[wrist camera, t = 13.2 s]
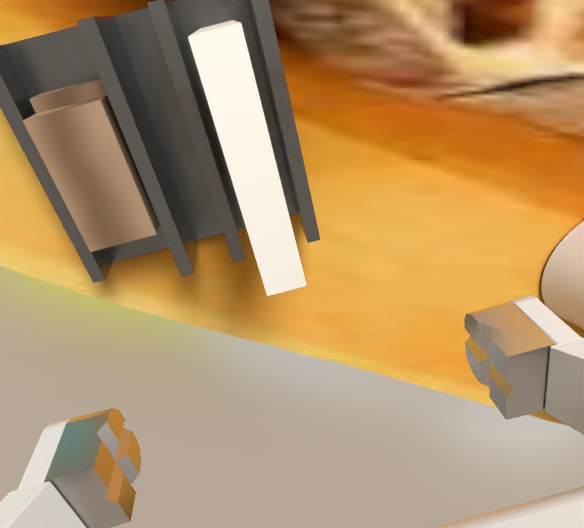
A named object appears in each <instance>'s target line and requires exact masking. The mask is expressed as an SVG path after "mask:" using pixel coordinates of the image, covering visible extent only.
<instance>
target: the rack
mask: <svg viewBox="0 0 584 528" xmlns="http://www.w3.org/2000/svg"><path fill="white" fill-rule="evenodd" d="M147 5H148V8H145V9H141V10H137V11H133V12H130V13H126V14H122V15H118V16H110V17H90V18H86V19H83V20H79V21H77V23H78V25H79V26H75V27H72V28H68V29H64V30H60V31H56V32H52V33H48V34H45V35H41V36H37V37H33V38H29V39H25V40H21V41H17V42H14V43H10V44H6V45H0V107H1V109H2V111H3V113H4V115H5V117H6V119H7V120H8V122H9V124H10V126H11V128H12V130H13V132H14V134H15V135H16V137H17V139H18V141H19V143H20V145H21V147H22V149H23V151H24V152H25V154H26V156H27V158H28V160H29V162H30V164H31V166H32V168H33V169H34V171H35V173H36V175H37V177H38V179H39V181H40V183H41V185H42V186H43V188H44V190H45V192H46V194H47V196H48V198H49V200H50V202H51V203H52V205H53V207H54V209H55V211H56V213H57V215H58V217H59V218H60V220H61V222H62V224H63V226H64V228H65V230H66V232H67V234H68V235H69V237H70V239H71V241H72V243H73V245H74V247H75V249H76V251H77V252H78V254H79V256H80V258H81V260H82V262H83V264H84V266H85V268H86V269H87V271H88V273H89V275H90V277H91V279H92V281H93V283H94V282H98V281H102V280H105V279H106V277H107V274H108V272H109V270H110V267H111V265H112V263H113V262H117V261H120V260H124V259H128V258H132V257H135V256H139V255H143V254H147V253H151V252H154V251H158V250H162V249H166V248H169V247H170V250H171V252H172V255H173V257H174V259H175V262H176V264H177V267H178V269H179V272H180V274H181V276H185V275H189V274H193V273H194V268H195V258H196V247H197V240H199V239H203V238H207V237H211V236H214V235H218V234H222V233H224V235H225V238H226V241H227V244H228V247H229V250H230V253H231V256H232V259H233V262H238V261H242V260H245V259H246V254H245V245H244V236H243V228H245V227H246V225H245V222H244V219H243V216H242V212H241V209H240V206H239V203H238V199H237V196H236V193H235V190H234V186H233V183H232V180H231V176H230V173H229V170H228V167H227V163H226V160H225V157H224V154H223V150H222V147H221V144H220V141H219V137H218V134H217V131H216V127H215V124H214V121H213V118H212V114H211V111H210V108H209V105H208V101H207V98H206V95H205V92H204V88H203V85H202V82H201V79H200V75H199V72H198V69H197V65H196V62H195V59H194V56H193V52H192V49H191V46H190V43H189V39H188V36H190V35H191V34H193V33H194V32H196V31H197V30H199V29H200V28H203V27H207V26H211V25H215V24H219V23H222V22H226V21H230V20H235V21H237V22H240V23H241V24H242V28H243V32H244V36H245V40H246V44H247V48H248V52H249V56H250V60H251V64H252V68H253V72H254V76H255V80H256V84H257V88H258V92H259V96H260V100H261V104H262V108H263V112H264V117H265V121H266V125H267V129H268V133H269V137H270V141H271V145H272V149H273V153H274V157H275V161H276V165H277V169H278V173H279V177H280V181H281V185H282V189H283V193H284V197H285V201H286V205H287V209H288V213H289V216H290V215H293V214H297V216H298V219H299V221H300V224H301V226H302V229H303V231H304V234H305V237H306V239H307V242H308V243H309V242H313V241H316V240H320V236H319V231H318V227H317V222H316V217H315V213H314V208H313V204H312V199H311V194H310V190H309V185H308V180H307V176H306V171H305V167H304V162H303V157H302V153H301V148H300V143H299V139H298V134H297V129H296V125H295V120H294V116H293V111H292V106H291V102H290V97H289V92H288V88H287V83H286V79H285V74H284V69H283V65H282V60H281V55H280V51H279V46H278V42H277V37H276V32H275V28H274V23H273V18H272V14H271V9H270V5H269V0H176V1H170V0H156V1H152V2H148V3H147ZM98 78H100V79H101V81H102V84H103V86H104V89H105V91H106V93H107V96H108V98H109V101H110V103H111V106H112V108H113V110H114V113H115V115H116V118H117V120H118V123H119V125H120V128H121V130H122V132H123V135H124V137H125V140H126V142H127V145H128V147H129V150H130V152H131V154H132V157H133V159H134V162H135V164H136V167H137V169H138V172H139V174H140V176H141V179H142V181H143V184H144V186H145V189H146V191H147V193H148V196H149V198H150V201H151V203H152V206H153V208H154V211H155V213H156V215H157V218H158V220H159V223H160V225H159V228H158V232H157V235H153V236H149V237H146V238H142V239H138V240H134V241H130V242H127V243H123V244H119V245H115V246H112V247H108V248H104V249H100V250H97V251H93V252H90V251H89V249H88V247H87V245H86V243H85V241H84V239H83V237H82V235H81V233H80V231H79V229H78V228H77V226H76V224H75V222H74V220H73V218H72V216H71V214H70V212H69V210H68V208H67V206H66V204H65V202H64V200H63V198H62V196H61V194H60V192H59V191H58V189H57V187H56V185H55V183H54V181H53V179H52V177H51V175H50V173H49V171H48V169H47V167H46V165H45V163H44V161H43V159H42V157H41V156H40V154H39V152H38V150H37V148H36V146H35V144H34V142H33V140H32V138H31V136H30V134H29V132H28V130H27V128H26V126H25V124H24V122H23V120H25V119H27V118H29V117H30V116H32V115H34V114H36V112H35V110H34V108H33V106H32V104H31V102H30V100H29V99H30V98H32V97H34V96H36V95H39V94H41V93H45V92H49V91H52V90H56V89H60V88H64V87H68V86H72V85H75V84H79V83H83V82H87V81H91V80H95V79H98Z"/></svg>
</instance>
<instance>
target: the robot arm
mask: <svg viewBox="0 0 584 528" xmlns="http://www.w3.org/2000/svg"><path fill="white" fill-rule="evenodd" d="M541 291H542V297H543V300H544V303H545V305H546V306H547V307H546V306H545V305H544V304H543V303H542V302H540V301H539V300H538V299H537V298H536V297H533V296H527V297H523V298H520V299H516V300H513V301H509V302H508V303H504V304H500V305H496V306H493V307H489V308H486V309H482V310H478V311H475V312H471V313H467V314H466V316H465V329H466V330H467V332H468V333H469V334H470V337H469V338H468V340H467V341H466V343H465V345H466V355H467V358H468V362H469V365H470V367H471V369H472V371H473V373H474V375H475V376H476V378H477V379H478V381H479V382H480V383H482V384H484V385H486V386H489V387H490V398H491V399H492V401H493V402H494V403H495V405H496V406H497V408H498V409H499V410H500V412H501V413H502V414H503V416H504V417H505V419H511V418H515V417H519V416H523V415H527V414H532V413H536V412H540V411H544V410H545V413H547V414H549V415H550V416H552V417H554V418H556V419H557V420H559V421H561V422H563V423H565V424H566V425H568V426H570V427H572V428H573V429H575V430H577V431H579V432H580V433H582V434H584V338H581V337H580V336H579V335H578V334H577V333H576V332H575V331H573V330H572V329H571V328H570V327H569V326H568V325H567V324H566V323H564V322H563V321H562V320H561V319H560V318H562V319H564V320H567V321H569V322H571V323H573V324H575V325H576V326H578V327H580V328H581V329H582V330H584V221H582V222H581V223H580V224H579V225H578V226H576V227H575V228H574V229H573V230H572V231H571V232H570V233H569V234H568V235H567V236H566V237H565V238H564V239H563V240H562V241H561V242H560V243H559V245H558V246H557V247H556V249H555V250H554V252H553V253H552V255H551V257H550V258H549V260H548V262H547V265H546V267H545V270H544V273H543V277H542V283H541ZM559 317H560V318H559ZM124 421H125V419H124V417H123V415H122V414H121V412H120V411H119V410H118V409H109V410H104V411H100V412H96V413H92V414H88V415H84V416H80V417H76V418H72V419H70V420H65V421H61V422H57V423H53V424H49V425H48V426H47V427H46V428H45V429H44V430H43V432H42V435H41V437H40V439H39V442H38V444H37V446H36V448H35V451H34V453H33V455H32V458H31V460H30V462H29V465H28V467H27V469H26V471H25V474H24V476H23V478H22V481H21V483H20V485H19V488H18V490H15V491H12V492H10V493H9V494H8V495H7V496H6V497H5V498H4V499H3V500H2V501H1V502H0V528H109V527H113V526H116V525H120V524H123V523H126V522H130V521H131V516H132V511H133V505H134V499H135V494H136V492H135V490H134V489H133V487H132V486H131V484H132V483H133V481H134V480H135V479H136V477H137V476H138V475H139V472H140V465H141V457H140V448H139V444H138V441H137V439H136V437H135V436H134V434H133V432H131V431H129V430H127V429H125V428H123V425H124ZM435 528H584V487H581V488H578V489H574V490H570V491H567V492H563V493H560V494H556V495H552V496H549V497H545V498H541V499H538V500H534V501H530V502H526V503H523V504H519V505H515V506H512V507H508V508H505V509H501V510H497V511H493V512H490V513H486V514H482V515H479V516H475V517H472V518H468V519H464V520H461V521H457V522H453V523H450V524H446V525H442V526H439V527H435Z"/></svg>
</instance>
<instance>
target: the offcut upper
mask: <svg viewBox="0 0 584 528" xmlns="http://www.w3.org/2000/svg"><path fill="white" fill-rule="evenodd" d="M23 122H24V124H25V126H26V128H27V130H28V132H29V134H30V136H31V138H32V140H33V142H34V144H35V146H36V148H37V150H38V152H39V154H40V156H41V157H42V159H43V161H44V163H45V165H46V167H47V169H48V171H49V173H50V175H51V177H52V179H53V181H54V183H55V185H56V187H57V189H58V191H59V192H60V194H61V196H62V198H63V200H64V202H65V204H66V206H67V208H68V210H69V212H70V214H71V216H72V218H73V220H74V222H75V224H76V226H77V228H78V229H79V231H80V233H81V235H82V237H83V239H84V241H85V243H86V245H87V247H88V249H89V251H90V252H93V251H97V250H100V249H104V248H108V247H112V246H115V245H119V244H123V243H127V242H130V241H134V240H138V239H142V238H146V237H149V236H153V235H157V232H158V228H159V225H160V223H159V220H158V218H157V215H156V213H155V211H154V208H153V206H152V203H151V201H150V198H149V196H148V193H147V191H146V189H145V186H144V184H143V181H142V179H141V176H140V174H139V172H138V169H137V167H136V164H135V162H134V159H133V157H132V154H131V152H130V150H129V147H128V145H127V142H126V140H125V137H124V135H123V132H122V130H121V128H120V125H119V123H118V120H117V118H116V115H115V113H114V110H113V108H112V106H111V103H110V101H109V98H108V96H107V95H105V96H101V97H97V98H94V99H90V100H86V101H82V102H78V103H74V104H71V105H67V106H63V107H59V108H55V109H51V110H48V111H44V112H40V113H36V114H34V115H32V116H30V117H29V118H27V119H25V120H23Z"/></svg>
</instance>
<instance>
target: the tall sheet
mask: <svg viewBox="0 0 584 528" xmlns="http://www.w3.org/2000/svg"><path fill="white" fill-rule="evenodd" d="M188 39H189V43H190V46H191V49H192V52H193V56H194V59H195V62H196V65H197V69H198V72H199V75H200V79H201V82H202V85H203V88H204V92H205V95H206V98H207V101H208V105H209V108H210V111H211V114H212V118H213V121H214V124H215V127H216V131H217V134H218V137H219V141H220V144H221V147H222V150H223V154H224V157H225V160H226V163H227V167H228V170H229V173H230V176H231V180H232V183H233V186H234V190H235V193H236V196H237V199H238V203H239V206H240V209H241V212H242V216H243V219H244V222H245V225H246V229H247V232H248V235H249V239H250V242H251V245H252V248H253V252H254V255H255V258H256V261H257V265H258V268H259V271H260V274H261V278H262V281H263V284H264V288H265V291H266V294H267V296H270V295H274V294H278V293H281V292H285V291H289V290H292V289H296V288H300V287H304V286H307V285H306V281H305V277H304V273H303V269H302V265H301V261H300V257H299V253H298V249H297V245H296V241H295V237H294V233H293V229H292V225H291V221H290V217H289V213H288V209H287V205H286V201H285V197H284V193H283V189H282V185H281V181H280V177H279V173H278V169H277V165H276V161H275V157H274V153H273V149H272V145H271V141H270V137H269V133H268V129H267V125H266V121H265V117H264V112H263V108H262V104H261V100H260V96H259V92H258V88H257V84H256V80H255V76H254V72H253V68H252V64H251V60H250V56H249V52H248V48H247V44H246V40H245V36H244V32H243V28H242V24H241V23H240V22H237V21H235V20H230V21H226V22H222V23H219V24H215V25H211V26H207V27H203V28H200V29H199V30H197V31H196V32H194V33H193V34H191V35H190V36H188Z"/></svg>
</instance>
